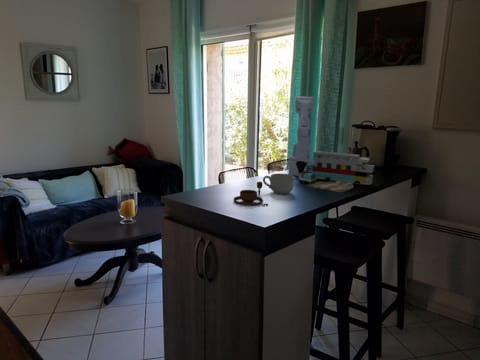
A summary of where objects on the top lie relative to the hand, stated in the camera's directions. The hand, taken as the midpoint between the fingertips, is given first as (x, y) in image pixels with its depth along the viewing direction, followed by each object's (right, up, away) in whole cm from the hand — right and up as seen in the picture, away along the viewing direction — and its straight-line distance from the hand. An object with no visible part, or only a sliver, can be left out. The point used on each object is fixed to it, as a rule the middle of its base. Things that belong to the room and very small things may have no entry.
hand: (300, 175), depth 184 cm
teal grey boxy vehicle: (+3, -4, -2) cm, 5 cm away
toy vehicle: (+22, -4, +2) cm, 22 cm away
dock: (+13, -6, -9) cm, 17 cm away
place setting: (-26, -11, -38) cm, 47 cm away
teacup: (-15, -8, -24) cm, 30 cm away
